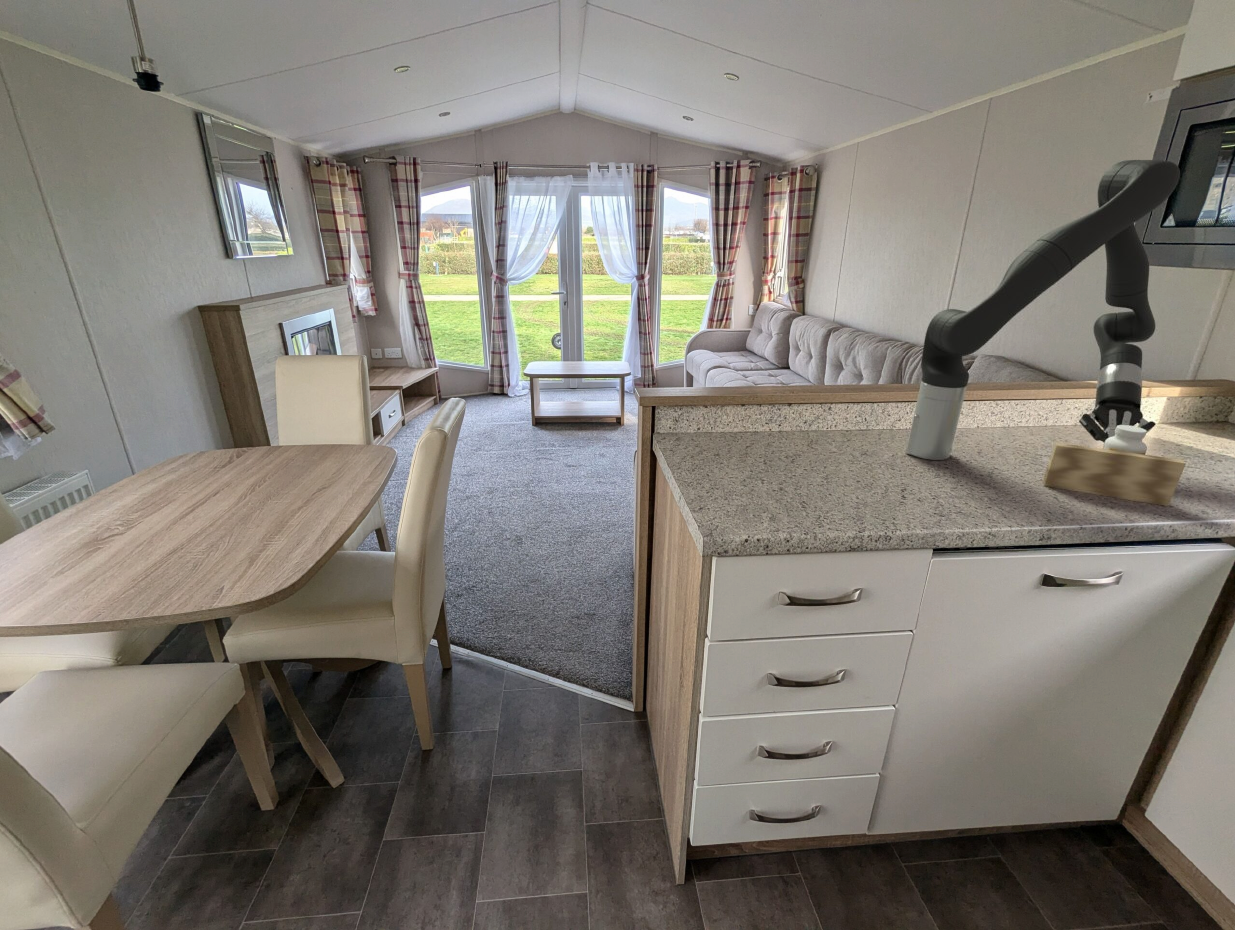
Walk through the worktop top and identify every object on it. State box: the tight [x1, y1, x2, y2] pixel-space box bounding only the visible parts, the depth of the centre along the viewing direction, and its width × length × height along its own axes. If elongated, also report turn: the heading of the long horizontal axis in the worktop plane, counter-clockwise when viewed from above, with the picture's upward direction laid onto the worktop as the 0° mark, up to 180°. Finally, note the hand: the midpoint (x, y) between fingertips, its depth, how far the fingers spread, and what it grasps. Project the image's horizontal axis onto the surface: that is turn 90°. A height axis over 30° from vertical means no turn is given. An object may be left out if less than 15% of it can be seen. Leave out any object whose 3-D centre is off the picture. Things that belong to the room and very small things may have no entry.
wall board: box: [1042, 442, 1187, 507], centre depth 116 cm, size 20×6×9 cm, turn 62°
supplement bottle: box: [1101, 425, 1148, 455], centre depth 117 cm, size 7×7×13 cm
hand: (1113, 458), depth 120 cm, fingers closed
